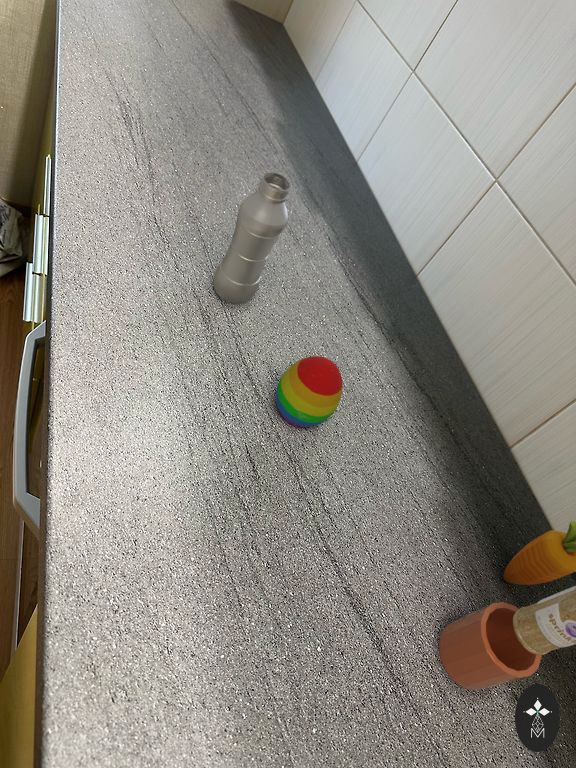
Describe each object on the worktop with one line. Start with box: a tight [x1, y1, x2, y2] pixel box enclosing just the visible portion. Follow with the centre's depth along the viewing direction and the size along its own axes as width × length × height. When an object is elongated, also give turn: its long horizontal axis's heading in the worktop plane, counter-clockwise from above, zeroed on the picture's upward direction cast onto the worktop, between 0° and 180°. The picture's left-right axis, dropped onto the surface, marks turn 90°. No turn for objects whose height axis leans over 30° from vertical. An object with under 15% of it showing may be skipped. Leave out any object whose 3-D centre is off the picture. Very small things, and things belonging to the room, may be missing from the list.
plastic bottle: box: [212, 171, 292, 304], centre depth 78 cm, size 6×7×20 cm
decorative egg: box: [275, 355, 344, 428], centre depth 73 cm, size 8×8×10 cm
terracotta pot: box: [438, 601, 543, 691], centre depth 62 cm, size 7×7×8 cm
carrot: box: [502, 520, 576, 586], centre depth 67 cm, size 5×5×15 cm
